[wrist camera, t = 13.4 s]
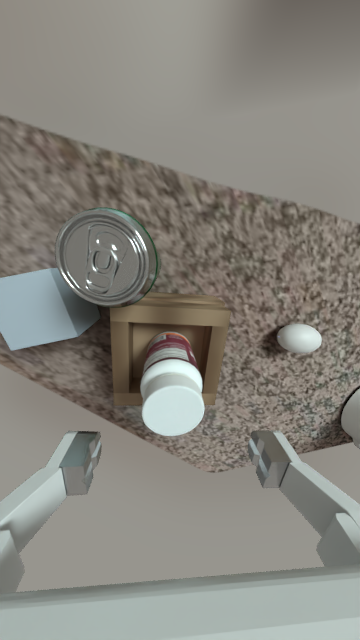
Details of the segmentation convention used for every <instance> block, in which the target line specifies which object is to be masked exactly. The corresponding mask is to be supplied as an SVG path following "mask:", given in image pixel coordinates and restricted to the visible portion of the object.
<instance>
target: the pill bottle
mask: <svg viewBox="0 0 360 640" xmlns="http://www.w3.org/2000/svg"><path fill="white" fill-rule="evenodd" d="M140 389H141V395H142V397H143V404H142V418H143V421H144V423H145V424H146V426H147V427H148V428H149V429H150V430H152V431H153V432H155V433H158V434H161V435H165V436H177V435H181V434H185V433H187V432H189V431H191V430H192V429H193V428H195V427H196V426H197V425H198V424H199V422H200V421H201V419H202V417H203V415H204V402H203V398H202V394H201V392H202V377H201V374H200V372H199V369H198V366H197V363H196V360H195V357H194V354H193V352H192V349H191V346H190V343H189V341H188V340H187V339H186V338H185V337H184V336H183V335H181V334H179V333H177V332H168V331H167V332H163V333H160V334H158V335H157V336H155V337H154V338H153V339H152V340H151V342H150V344H149V346H148V349H147V355H146V359H145V364H144V369H143V373H142V377H141V386H140Z"/></svg>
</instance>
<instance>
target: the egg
mask: <svg viewBox="0 0 360 640" xmlns="http://www.w3.org/2000/svg"><path fill="white" fill-rule="evenodd" d="M277 340H278V343H279V344H280V345H281V346H282V347H283V348H284V349H286V350H288V351H290V352H294V353H309V352H312V351H314V350H316V349H317V348H318V347H319V346H320V344H321V341H322V338H321V335H320V334H319V332H318V331H317V330H315V329H314V328H312V327H311V326H308V325H304V324H290V325H287V326H285V327H283V328H281V329H280V330H279V332H278V334H277Z"/></svg>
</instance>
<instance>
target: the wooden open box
mask: <svg viewBox="0 0 360 640" xmlns="http://www.w3.org/2000/svg"><path fill="white" fill-rule="evenodd" d="M224 305H225V302H223V301H221V300H220V299H218V298H216V297H215V296H207V295H192V294H177V293H162V292H148V293H147V294H146V295H145V296H144V297H143V298H142V299H141V300H139V301H138V302H136V303H134V304H132V305H129V306H126V307H121V308H110V328H111V351H112V373H113V396H114V405H142V404H143V397H142V395H141V389H140V386H141V377H142V373H143V369H144V364H145V359H146V355H147V349H148V346H149V344H150V342H151V340H152V339H153V338H154V337H155V336H157V335H158V334H160V333H163V332H167V331H168V332H177V333H179V334H181V335H183V336H184V337H185V338H186V339H187V340H188V341H189V343H190V346H191V349H192V352H193V354H194V357H195V360H196V363H197V366H198V369H199V372H200V374H201V377H202V392H201V394H202V398H203V402H204V405H215V400H216V394H217V388H218V383H219V377H220V371H221V366H222V360H223V354H224V349H225V343H226V338H227V332H228V326H229V321H230V315H231V311H230V310H229V309H227V308H226V307H224Z"/></svg>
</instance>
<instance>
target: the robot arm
mask: <svg viewBox="0 0 360 640" xmlns="http://www.w3.org/2000/svg"><path fill="white" fill-rule="evenodd" d="M341 424H342V427H343V429H344V431H345V432H346V433H347V434H349V435H350V436H351V437H352V438H353V442H354V444H355V446H357V447H358V448H359V449H360V389H358V390H357V391H356V392H355V393H354V394H353V395H352V397H351V398H350V399H349V401H348V402H347V404H346V405H345V407H344V410H343V412H342V417H341ZM100 437H101V436H100V432H88V431H87V432H86V431H68V432H67V433H66V434H65V435H64V437H63V438H62V440H61V442H60V443H59V445H58V447H57V448H56V450H55V452H54V453H53V455H52V456H51V458H50V460H49V462H48V463H47V465H46V466H45V468H41V469H39V470H38V471H37V472H36V473H34V474H33V475H32V476H31V477H30V478H28V479H27V480H26V481H25V482H24V483H22V484H21V485H20V486H18V487H17V488H16V489H15V490H14V491H13V492H11V493H10V494H9V495H7V496H6V497H5V498H4V499H3V500H1V501H0V640H360V505H359V504H358V503H357V502H355V501H354V500H353V499H352V498H350V497H349V496H348V495H346V494H345V493H344V492H343V491H341V490H340V489H339V488H337V487H336V486H335V485H334V484H332V483H331V482H330V481H328V480H327V479H326V478H325V477H323V476H322V475H321V474H319V473H318V472H317V471H316V470H314V469H313V468H311V467H310V466H309V465H308V464H307V463H305V462H302V461H301V460H300V458H299V457H298V455H297V454H296V452H295V451H294V449H293V448H292V446H291V445H290V444H289V442H288V441H287V439H286V438H285V436H284V435H283V433H282V432H281V431H270V430H263V431H252V432H251V438H252V439H251V440H250V441H249V443H248V453H249V457H250V459H251V462H252V463H253V464H254V465H255V466H256V467H257V469H256V473H257V476H258V478H259V480H260V483H261V485H262V487H263V488H280V490H281V492H282V493H283V494H284V495H285V496H286V497H287V498H288V499H289V501H290V502H291V503H292V504H293V505H294V506H295V507H296V508H297V510H298V511H299V512H300V513H301V514H302V515H303V516H304V517H305V519H306V520H307V521H308V522H309V523H310V524H311V525H312V526H313V528H315V530H316V531H317V532H318V533H319V534H320V535H321V537H322V538H321V540H320V541H319V543H318V545H317V552H318V554H319V556H320V558H321V560H322V562H323V564H324V566H325V567H316V568H305V569H292V570H280V571H269V572H256V573H243V574H231V575H220V576H207V577H196V578H183V579H171V580H158V581H146V582H135V583H122V584H110V585H98V586H87V587H73V588H61V589H49V590H38V591H25V592H16V590H17V587H18V585H19V583H20V581H21V578H22V576H23V574H24V565H23V563H22V560H21V558H20V555H19V553H20V552H21V551H22V549H23V548H24V547H25V546H26V545H27V543H28V542H29V541H30V540H31V539H32V538H33V536H34V535H35V534H36V533H37V532H38V530H39V529H40V528H41V527H42V526H43V524H44V523H45V522H46V521H47V520H48V519H49V517H50V516H51V515H52V514H53V513H54V512H55V510H56V509H57V508H58V507H59V506H60V504H61V503H62V502H63V501H64V500H65V499H66V497H67V495H83V494H87V493H88V490H89V487H90V484H91V481H92V479H93V469H94V468H95V467H96V466H97V464H98V461H99V458H100V454H101V442H99V439H100Z"/></svg>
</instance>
